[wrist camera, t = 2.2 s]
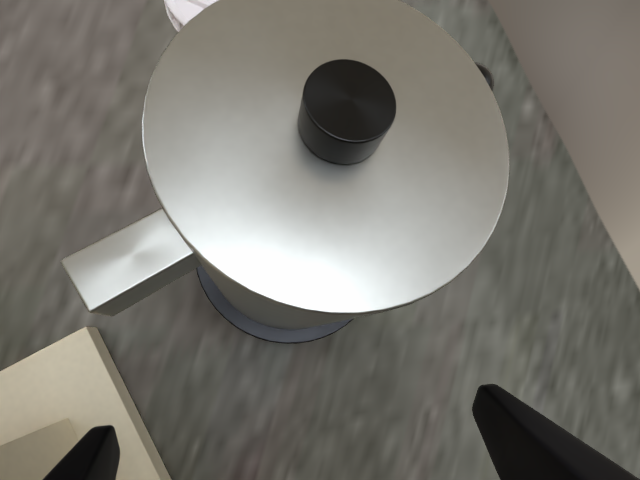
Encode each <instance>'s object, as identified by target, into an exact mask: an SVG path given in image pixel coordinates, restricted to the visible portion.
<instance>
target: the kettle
mask: <svg viewBox="0 0 640 480" xmlns="http://www.w3.org/2000/svg"><path fill="white" fill-rule="evenodd" d="M493 87H494V79H493V75H492V73H491V71H490V70H489V69H488V68H487V67H486V66H484V65H483V64H480V63H476V62H473V60H472V59H471V57H470V56H469V55H468V54H467V53H466V52H465V51H464V49H463V48H462V47H461V46H460V45H459V44H458V43H457V42H456V41H455V40H454V39H453V38H452V37H451V36H450V35H449V34H448V33H447V32H446V31H445V30H444V29H442V28H441V27H440V26H439V25H437V24H436V23H435V22H433V21H432V20H431V19H429V18H428V17H427V16H425V15H424V14H422V13H421V12H419V11H417V10H416V9H414V8H412V7H411V6H409V5H408V4H406V3H404V2H402V1H399V0H218V1H216V2H214V3H213V4H211V5H209V6H208V7H206V8H205V9H203V10H202V11H201V12H200V13H198V14H197V15H196V16H195V17H193V18H192V19H191V20H190V21H188V22H187V24H186V25H185V26H184V27H183V28H182V29H181V30H180V31H179V32H178V33H177V34H176V35H175V36H174V38H173V39H172V40H171V42H170V43H169V45H168V46H167V48H166V49H165V51H164V52H163V54H162V55H161V57H160V59H159V61H158V63H157V65H156V67H155V69H154V72H153V74H152V76H151V79H150V83H149V86H148V89H147V93H146V96H145V101H144V108H143V116H142V146H143V152H144V157H145V163H146V168H147V172H148V175H149V178H150V181H151V183H152V186H153V189H154V192H155V195H156V197H157V199H158V201H159V202H160V204H161V206H162V208H161V209H159V210H157V211H155V212H153V213H151V214H149V215H147V216H145V217H143V218H142V219H140V220H138V221H136V222H134V223H132V224H130V225H128V226H126V227H124V228H122V229H120V230H118V231H116V232H114V233H112V234H111V235H109V236H107V237H105V238H103V239H101V240H99V241H97V242H95V243H93V244H91V245H89V246H87V247H85V248H83V249H81V250H79V251H78V252H76V253H74V254H72V255H70V256H68V257H66V258H64V259H62V260H61V264H62V266H63V267H64V269H65V271H66V273H67V275H68V276H69V278H70V280H71V282H72V283H73V285H74V287H75V289H76V291H77V292H78V294H79V296H80V298H81V300H82V301H83V303H84V305H85V307H86V308H87V310H88V312H90V313H94V314H101V315H107V316H114V315H116V314H118V313H120V312H121V311H123V310H125V309H126V308H128V307H130V306H132V305H133V304H135V303H137V302H139V301H140V300H142V299H144V298H145V297H147V296H149V295H151V294H152V293H154V292H156V291H157V290H159V289H161V288H163V287H164V286H166V285H168V284H170V283H171V282H173V281H175V280H176V279H178V278H180V277H182V276H183V275H185V274H187V273H189V272H190V271H192V270H194V269H195V268H196V269H197V274H198V277H199V280H200V282H201V285H202V288H203V289H204V291H205V293H206V295H207V297H208V299H209V300H210V301H211V303H212V304H213V306H214V307H215V308H216V310H217V311H218V312H219V313H220V314H221V315H222V316H223V317H224V318H225V319H226V320H228V321H229V322H230V323H231V324H233V325H234V326H235V327H237V328H239V329H240V330H242V331H244V332H245V333H247V334H249V335H252V336H254V337H257V338H259V339H263V340H267V341H270V342H278V343H303V342H310V341H313V340H317V339H320V338H323V337H326V336H328V335H330V334H332V333H335V332H336V331H338V330H339V329H341V328H343V327H344V326H346V325H347V324H348V323H349V322H351V321H352V320H353V319H354V318H357V317H362V316H367V315H372V314H376V313H381V312H385V311H389V310H392V309H396V308H399V307H403V306H406V305H409V304H412V303H414V302H416V301H418V300H421V299H423V298H425V297H427V296H429V295H431V294H433V293H434V292H436V291H438V290H439V289H441V288H442V287H444V286H445V285H447V284H449V283H450V282H451V281H452V280H454V279H455V278H456V277H457V276H458V275H459V274H461V273H462V272H463V271H464V270H465V269H466V268H467V267H468V266H469V265H470V264H471V263H472V261H473V260H474V259H475V258H476V257H477V256H478V254H479V253H480V252H481V251H482V249H483V248H484V246H485V244H486V243H487V241H488V240H489V238H490V236H491V235H492V233H493V231H494V229H495V227H496V224H497V222H498V220H499V217H500V215H501V213H502V209H503V205H504V202H505V198H506V194H507V188H508V179H509V148H508V141H507V135H506V129H505V126H504V122H503V119H502V115H501V112H500V109H499V107H498V104H497V102H496V99H495V97H494V95H493V92H492V91H493Z"/></svg>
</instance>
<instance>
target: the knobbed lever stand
mask: <svg viewBox="0 0 640 480" xmlns="http://www.w3.org/2000/svg"><path fill="white" fill-rule="evenodd" d="M104 425H112V426H113V427H114V428H115V432H116V436H117V439H118V443H119V447H120V460H119V465H118V470H117V475H116V480H171V478H170V476H169V474H168V472H167V470H166V468H165V466H164V464H163V461H162V459H161V457H160V455H159V453H158V451H157V449H156V447H155V445H154V443H153V441H152V439H151V437H150V435H149V433H148V431H147V429H146V427H145V425H144V423H143V421H142V419H141V417H140V415H139V413H138V411H137V409H136V407H135V404H134V402H133V400H132V398H131V396H130V394H129V392H128V390H127V388H126V386H125V384H124V382H123V380H122V378H121V376H120V374H119V372H118V370H117V368H116V366H115V364H114V362H113V360H112V358H111V356H110V354H109V352H108V350H107V347H106V345H105V343H104V341H103V339H102V337H101V335H100V333H99V331H98V329H97V328H96V327H84V328H82V329H80V330H78V331H76V332H74V333H73V334H71V335H69V336H67V337H65V338H63V339H61V340H59V341H57V342H55V343H53V344H52V345H50V346H48V347H46V348H44V349H42V350H40V351H38V352H36V353H34V354H32V355H31V356H29V357H27V358H25V359H23V360H21V361H19V362H17V363H15V364H13V365H11V366H9V367H8V368H6V369H4V370H2V371H0V480H42V479H43V478H44V477H45V476H46V475H47V474H48V473H49V472H50V471H51V470H52V469H53V468H54V467H55V466H56V465H57V464H58V462H59V461H60V460H61V459H62V458H63V457H64V456H65V455H66V454H67V453H68V452H69V451H70V450H71V449H72V448H73V447H74V446H75V445H76V444H77V442H78V441H79V440H80V439H81V438H82V437H83V436H84V435H85V434H86V433H87V432H88V431H89V430H90V429H91V428H93V427H96V426H104Z"/></svg>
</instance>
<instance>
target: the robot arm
mask: <svg viewBox="0 0 640 480" xmlns="http://www.w3.org/2000/svg"><path fill="white" fill-rule="evenodd" d="M472 411H473V416H474V419H475V421H476V423H477V426H478V428H479V431H480V433H481V435H482V438H483V440H484V442H485V445H486V447H487V450H488V452H489V454H490V457H491V459H492V462H493V464H494V466H495V469H496V471H497V473H498V475H499V477H500V479H501V480H640V479H638V478H637V477H635V476H634V475H632V474H631V473H629V472H628V471H626V470H625V469H623V468H622V467H620V466H619V465H617V464H616V463H614V462H613V461H611V460H610V459H608V458H607V457H605V456H604V455H602V454H601V453H599V452H598V451H596V450H595V449H593V448H591V447H590V446H588V445H587V444H585V443H584V442H582V441H581V440H579V439H578V438H576V437H575V436H573V435H572V434H570V433H569V432H567V431H566V430H564V429H563V428H561V427H560V426H558V425H557V424H555V423H554V422H552V421H551V420H549V419H548V418H546V417H545V416H543V415H542V414H540V413H539V412H537V411H536V410H534V409H533V408H531V407H529V406H528V405H526V404H525V403H523V402H522V401H520V400H519V399H517V398H516V397H514V396H513V395H511V394H510V393H508V392H507V391H505V390H504V389H502V388H501V387H499V386H498V385H495V384H487V385H481V386H480V387H479V388H478V390H477V393H476V397H475V400H474V403H473V407H472ZM119 460H120V447H119V443H118V439H117V436H116V432H115V428H114V427H113V426H112V425H104V426H96V427H93V428H91V429H90V430H89V431H88V432H87V433H86V434H85V435H84V436H83V437H82V438H81V439H80V440H79V441H78V442H77V444H76V445H75V446H74V447H73V448H72V449H71V450H70V451H69V452H68V453H67V454H66V455H65V456H64V457H63V458H62V459H61V460H60V461H59V462H58V464H57V465H56V466H55V467H54V468H53V469H52V470H51V471H50V472H49V473H48V474H47V475H46V476H45V477H44V478H43V479H42V480H116V475H117V470H118V465H119Z"/></svg>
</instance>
